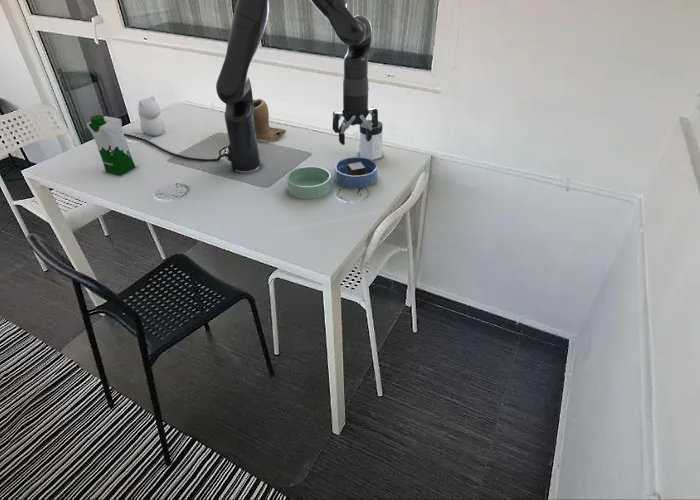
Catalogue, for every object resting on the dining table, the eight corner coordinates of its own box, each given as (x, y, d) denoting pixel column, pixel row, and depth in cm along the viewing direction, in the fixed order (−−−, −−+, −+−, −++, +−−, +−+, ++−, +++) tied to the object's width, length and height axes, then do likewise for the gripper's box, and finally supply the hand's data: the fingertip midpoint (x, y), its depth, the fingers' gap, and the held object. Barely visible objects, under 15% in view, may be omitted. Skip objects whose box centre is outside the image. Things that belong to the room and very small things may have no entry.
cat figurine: (154, 140, 182) (143, 103, 173) (134, 133, 187) (123, 97, 178) (172, 132, 188) (162, 96, 179) (152, 126, 193) (142, 91, 184)
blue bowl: (334, 190, 148) (333, 176, 145) (336, 170, 159) (336, 157, 156) (377, 190, 147) (377, 176, 144) (376, 170, 158) (376, 157, 155)
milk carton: (102, 173, 160) (80, 117, 147) (122, 162, 166) (103, 108, 154) (120, 177, 157) (100, 121, 144) (140, 166, 163) (122, 112, 151)
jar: (367, 162, 163) (367, 130, 156) (354, 154, 169) (354, 123, 161) (386, 156, 167) (388, 124, 160) (374, 148, 173) (374, 117, 165)
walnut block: (352, 182, 150) (352, 169, 148) (347, 176, 154) (347, 163, 151) (365, 180, 151) (365, 167, 149) (360, 174, 155) (360, 161, 152)
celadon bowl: (285, 200, 143) (283, 186, 140) (291, 179, 154) (290, 166, 151) (329, 201, 142) (329, 187, 139) (332, 179, 153) (332, 166, 150)
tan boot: (239, 140, 180) (232, 103, 171) (255, 129, 189) (250, 93, 180) (272, 146, 175) (267, 108, 166) (287, 135, 184) (283, 98, 175)
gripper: (373, 85, 140) (372, 135, 149) (329, 89, 136) (330, 140, 146) (382, 92, 134) (380, 144, 144) (336, 97, 130) (337, 150, 140)
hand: (355, 142), depth 145 cm, fingers open, 8 cm apart
